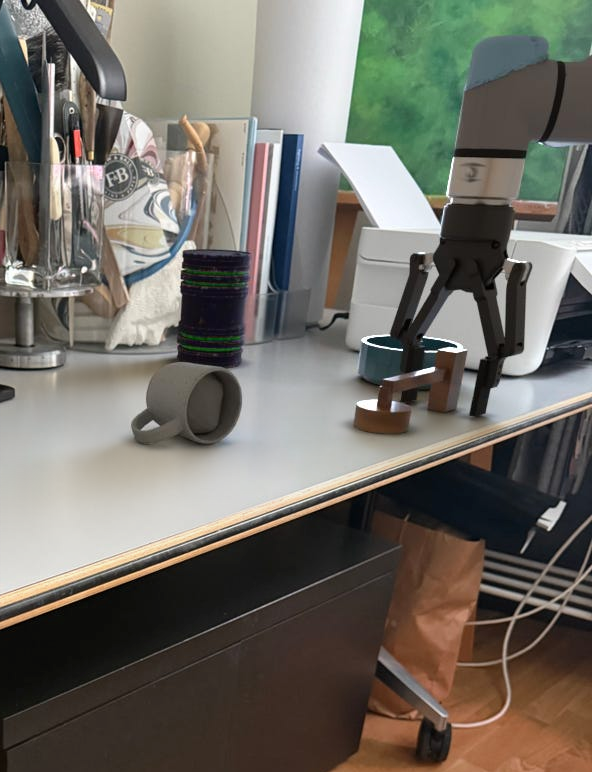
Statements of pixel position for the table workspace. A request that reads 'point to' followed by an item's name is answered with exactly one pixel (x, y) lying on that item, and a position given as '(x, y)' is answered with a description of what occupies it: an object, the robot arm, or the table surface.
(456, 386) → the wooden crane toy
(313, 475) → the table surface
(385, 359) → the bowl
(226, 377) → the ceramic mug
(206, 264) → the storage jar
